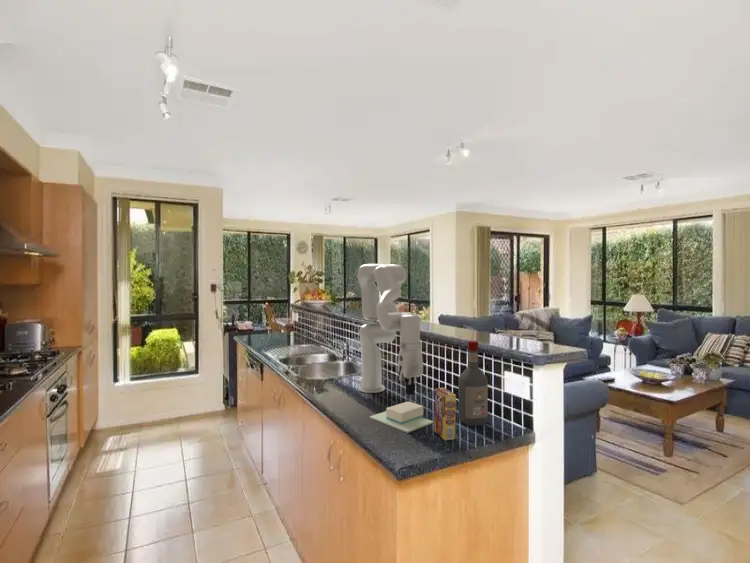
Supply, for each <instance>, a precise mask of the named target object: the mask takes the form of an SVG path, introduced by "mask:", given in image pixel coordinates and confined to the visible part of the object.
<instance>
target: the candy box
mask: <svg viewBox="0 0 750 563" xmlns="http://www.w3.org/2000/svg"><path fill="white" fill-rule="evenodd" d="M456 403H457V395H456V394H455V393H454V392H452V391H451V390H449V389H448V388H446V387H437V388H434V430H433V431H434V433H436V434H437V435H438V436H439V437H440V438H441V439H442V440H443V441H452V440H453V441H454V440H456V411H457V410H456V407H457V406H456Z"/></svg>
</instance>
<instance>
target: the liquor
mask: <svg viewBox="0 0 750 563" xmlns="http://www.w3.org/2000/svg"><path fill="white" fill-rule="evenodd" d="M467 350H468V355H467V356H468V357H467V361H468V362H467V367H466V368H465V369H464V370H463V371H462V373H461V374H460V375H459V376H458V420H459V421H460V422H461V423H462V424H464V425H466V426H469V427H478V426H485V425H486V423H487V422H488V415H489V414H488V410H489V409H488V405H489V404H488V402H489V401H488V397H489V396H488V388H489V386H488V380H489V379H488V378H487V375H486V374H484V372H483V371H482V370H481V369H480V367H479V354H478V353H479V352H478V351H479V341H478V340H477V341H476V340H468V341H467Z"/></svg>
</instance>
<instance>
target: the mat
mask: <svg viewBox="0 0 750 563" xmlns="http://www.w3.org/2000/svg"><path fill="white" fill-rule="evenodd" d="M369 419H371V420H374V421H376V422H378V423H381V424H384V425H386V426H388V427H391V428H394V429H397V430H399V431H401V432H404V433H407V434H408V433H411V432H413V431H417V430H419V429H422V428H424V427H427V426H429V425H432V424H435V420H434V421H433V420H431V419H427V418H425V417H421V418H418V419H415V420H412V421H409V422H407V423H404V424H399V423H397V422H394V421H391V420H389V419H386V410H385V411H382V412H379V413H376V414H373V415H370V416H369Z"/></svg>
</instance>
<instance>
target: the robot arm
mask: <svg viewBox="0 0 750 563" xmlns="http://www.w3.org/2000/svg"><path fill="white" fill-rule="evenodd" d="M357 270H358V271H357V281H358V284H359V287H360V291H361V314H362V318H363V319H364V320H366V321H378V322H371V323H370V322H369V323H365V324H362V325H361V326H360V327H359V329H358V330H359V331H358V332H359V339H360V346H361V347H360V348H361V349H360V350H361V352H360V353H361V377H360V378H359V379H357V382H358V383H360V385H359V386H358V391H359V392H362V393H366V394H367V393H368V394H376V393H381V392H384V391H385V389H386V388H385V385H384V384H382V378H383V376H382V351H381V349H380V348H379V346H378V345H377V344H383V343H391V342H394V340H395V339H396V334H397V333H396V332H399V334H400V335H399V337H400V338H399V352H398V357H397V358H398V359H397V375H398V376H399V378H398V380H399V381H401V382H403V383H404V384H405V394H407V395H410V396H413V395H415V384H416V382H417V379H418V378H419V377H420V376H422V375H423V373H424V361H423V353H422V349H421V348H420V346H421V344H420V343H421V342H420V340H421V330H420V329H421V327H420V326H421V324H420V323H421V322H420V321H421V318H420V316H419V315H418V314H415V313H412V312H410V311H396V308H395V305H394V303H393V302H394V301H396V300H398V299H399V297H400V296H401V288H400V286H399V284H400V285H401V284H404V283H405V282H406V280H407V271H406V269H405V267H404V266H403V265H401V264H393V263H365V264H361V265H360V266H359V268H358V269H357ZM375 283H376V284H375Z"/></svg>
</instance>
